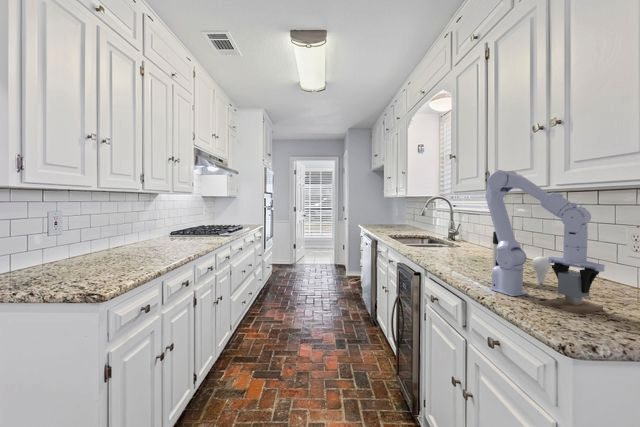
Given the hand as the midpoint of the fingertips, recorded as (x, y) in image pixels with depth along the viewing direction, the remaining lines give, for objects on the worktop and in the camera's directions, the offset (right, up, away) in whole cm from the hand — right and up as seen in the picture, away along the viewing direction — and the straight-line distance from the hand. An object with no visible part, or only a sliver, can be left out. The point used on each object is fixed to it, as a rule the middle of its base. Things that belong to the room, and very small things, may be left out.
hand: (573, 290), depth 98 cm
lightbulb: (+9, -5, +27) cm, 29 cm away
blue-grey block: (0, -1, 0) cm, 1 cm away
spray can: (-2, -4, +36) cm, 36 cm away
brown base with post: (0, -5, 0) cm, 5 cm away
